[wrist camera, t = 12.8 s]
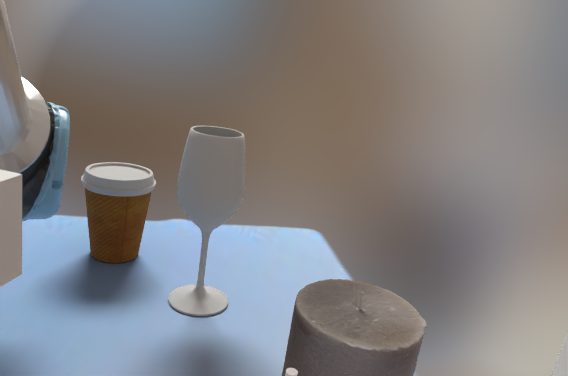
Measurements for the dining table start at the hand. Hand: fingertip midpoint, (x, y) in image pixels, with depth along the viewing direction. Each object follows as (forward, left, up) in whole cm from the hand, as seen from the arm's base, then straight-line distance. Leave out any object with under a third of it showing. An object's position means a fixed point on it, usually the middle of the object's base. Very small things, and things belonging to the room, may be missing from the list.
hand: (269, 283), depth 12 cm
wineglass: (-15, +43, -26) cm, 53 cm away
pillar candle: (+3, +24, -26) cm, 36 cm away
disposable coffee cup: (-30, +50, -26) cm, 64 cm away
